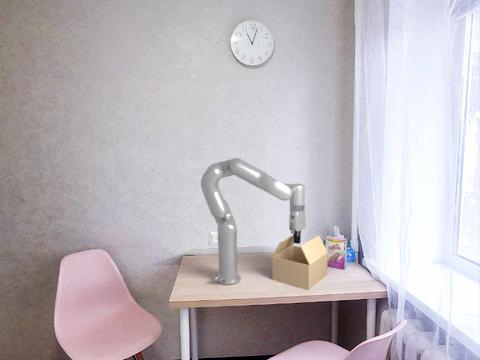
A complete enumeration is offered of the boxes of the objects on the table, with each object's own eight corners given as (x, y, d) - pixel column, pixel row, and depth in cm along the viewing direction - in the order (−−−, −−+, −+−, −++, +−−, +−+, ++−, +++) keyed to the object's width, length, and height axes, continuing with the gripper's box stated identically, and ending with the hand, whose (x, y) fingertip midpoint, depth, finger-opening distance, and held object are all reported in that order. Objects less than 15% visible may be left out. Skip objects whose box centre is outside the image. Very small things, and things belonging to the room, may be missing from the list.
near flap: (309, 265, 145) (310, 264, 145) (299, 246, 147) (300, 245, 147) (326, 252, 162) (327, 252, 162) (318, 235, 164) (319, 235, 164)
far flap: (280, 242, 154) (280, 241, 154) (272, 256, 158) (272, 255, 158) (300, 232, 170) (299, 232, 171) (292, 245, 174) (292, 245, 174)
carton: (308, 290, 146) (308, 265, 145) (272, 279, 159) (272, 257, 157) (327, 274, 164) (327, 252, 162) (293, 266, 176) (293, 245, 175)
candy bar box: (324, 266, 175) (324, 238, 173) (326, 263, 179) (326, 235, 177) (344, 270, 169) (345, 240, 167) (346, 266, 173) (347, 238, 172)
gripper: (296, 211, 150) (296, 248, 152) (310, 206, 162) (310, 240, 164) (283, 209, 155) (283, 245, 157) (297, 204, 166) (297, 238, 168)
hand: (297, 242), depth 160 cm, fingers closed
